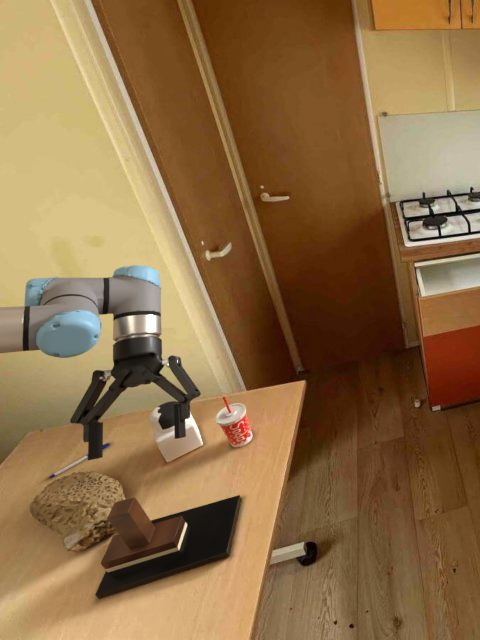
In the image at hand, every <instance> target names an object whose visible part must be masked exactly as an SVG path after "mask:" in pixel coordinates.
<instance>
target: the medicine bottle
mask: <svg viewBox="0 0 480 640" xmlns="http://www.w3.org/2000/svg"><path fill="white" fill-rule="evenodd" d="M175 404H180V403H178V401H177V400H172V401H171V400H170V401H167V402H164V403H161V404H160V405H158V406H156V407H155V408H154V409H153V410H152V411H151V412H150V414H149V415H148V419H149V422H150V423H151V426H152V430H153V431H152V432H153V437H154V441H155V444H156V446H157V448H158V450H159V452H160V453H161V455H162V456H163V458H164V461H165V462H166V463H170V462H172V461H175V460H176V459H179V458H180V457H182V456H184V455H186V454H187V453H190V452H192V451H194V450H197V449H198V448H200V447H202V446H203V445H204V443H203V440H202V436H201V432H200V430H199V427H198V425H197V422H196V420H195V419H194V416H193V415H192V412H190V418H189V419H185V427H186V437H183V438H178V439H175V429H174V405H175Z"/></svg>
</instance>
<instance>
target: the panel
mask: <svg viewBox="0 0 480 640" xmlns="http://www.w3.org/2000/svg"><path fill="white" fill-rule="evenodd" d="M242 500H243V498H242V496H241V495H240V494H238V495H235V496H231V497H227V498H224V499H221V500H217V501H214V502H211V503H206V504H203V505H200V506H196V507H193V508H190V509H186V510H182V511H179V512H175V513H172V514H169V515H165V516H161V517H158V518H155V519H150V520H151V522H152V523H153V524H156V523H159V522H163V521H166V520H169V519H173V518H176V517H180V516H182V517H183V518H184V520H185V522H186V523H187V528H186V531H185V534H184V537H183V540H182V544H181V547H180V550H179V551H176V552H172V553H169V554H166V555H163V556H160V557H156V558H153V559H150V560H147V561H143V562H140V563H137V564H134V565H131V566H127V567H124V568H121V569H118V570H115V571H111V572H107V571H106V570H105V572H104V573H103V576H102V578H101V581H100V583H99V584H98V588H97V589H96V592H95V594H94V596H95V597H96V598H97V599H98V600H101V599H105V598H108V597H111V596H114V595H117V594H120V593H123V592H126V591H129V590H132V589H135V588H139V587H142V586H145V585H148V584H150V583H153V582H158V581H160V580H164V579H166V578H169V577H173V576H176V575H179V574H182V573H186V572H188V571H191V570H194V569H196V568H200V567H203V566H206V565H209V564H212V563H216V562H219V561H222V560H224V559H225V560H226V559H227V558H230V555H231V551H232V545H233V540H234V538H235V537H234V536H235V533H236V532H235V531H236V527H237V523H238V519H239V514H240V510H241V504H242Z"/></svg>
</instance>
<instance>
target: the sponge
mask: <svg viewBox="0 0 480 640" xmlns="http://www.w3.org/2000/svg"><path fill="white" fill-rule="evenodd" d="M122 500H126V497H125V494H124V490H123V486H122V484H121V483H120V481H119V479H114V478H113V477H110V476H108V475H106V474H102V473H100V472H97V471H95V470H89V471H78V472H72V473H71V474H69V475H68V474H67V475H63V476H61V477H59V478H57V479H54V480H53V481H52V482H50V483H48V484H47V485H46V486H45V487H44V489H42V490H41V491H40V492H39V493H37V494H36V495H35V497H34V498H33V501H31V503H30V504H29V512H30V513H31V515H32V517H33V518H34V519H35V520H36V521H37V522H39V524H41V525H42V526H46V527H47V528H49V529H51V531H52V532H55V533H56V534H60V538H59V539H60V541H61V544H62V546H63V547H64V549H65V550H66V552H67V553H70V552H71V553H76V552H78V551H80V552H81V551H84V550H86V549H87V547H90V546H92V545H94V544H96V543H98V542H100V541H101V539H104V537H105V535H106V536H108V535H109V536H110V535H112V534H116V533H117V531H116V530H115V529H114V527H113V526H112V525H111V523H110V522H109V521H108V519H107V517H108V515H109V513H110V511H111V509H112V507H113V505H114V503H115V502H118V501H122Z"/></svg>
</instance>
